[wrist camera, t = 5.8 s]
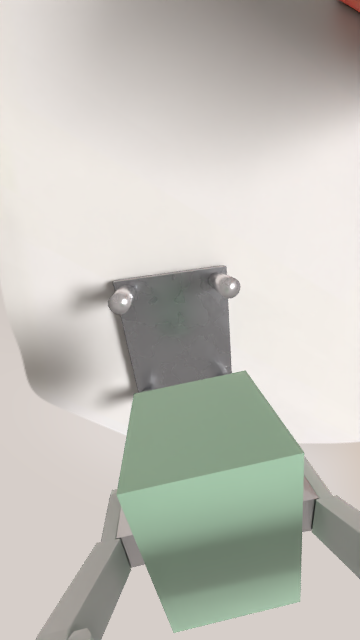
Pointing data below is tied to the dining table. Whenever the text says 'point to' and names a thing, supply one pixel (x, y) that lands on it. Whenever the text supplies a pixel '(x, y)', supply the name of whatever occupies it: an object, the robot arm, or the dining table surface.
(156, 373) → the chassis
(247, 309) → the dining table surface
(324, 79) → the dining table surface
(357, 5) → the cracker box
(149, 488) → the green rectangular block
